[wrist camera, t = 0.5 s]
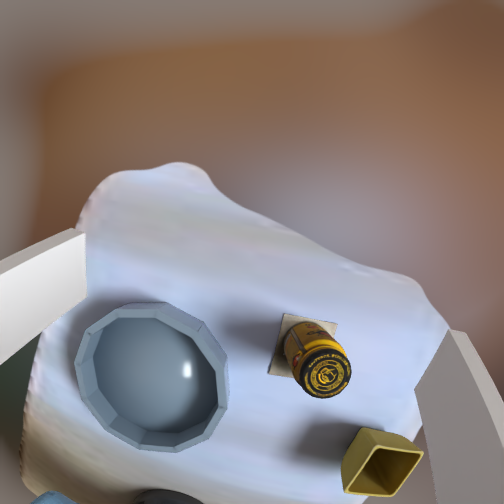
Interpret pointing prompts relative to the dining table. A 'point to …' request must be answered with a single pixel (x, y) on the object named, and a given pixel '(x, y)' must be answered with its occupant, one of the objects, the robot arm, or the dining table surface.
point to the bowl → (153, 376)
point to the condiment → (311, 356)
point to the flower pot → (378, 463)
